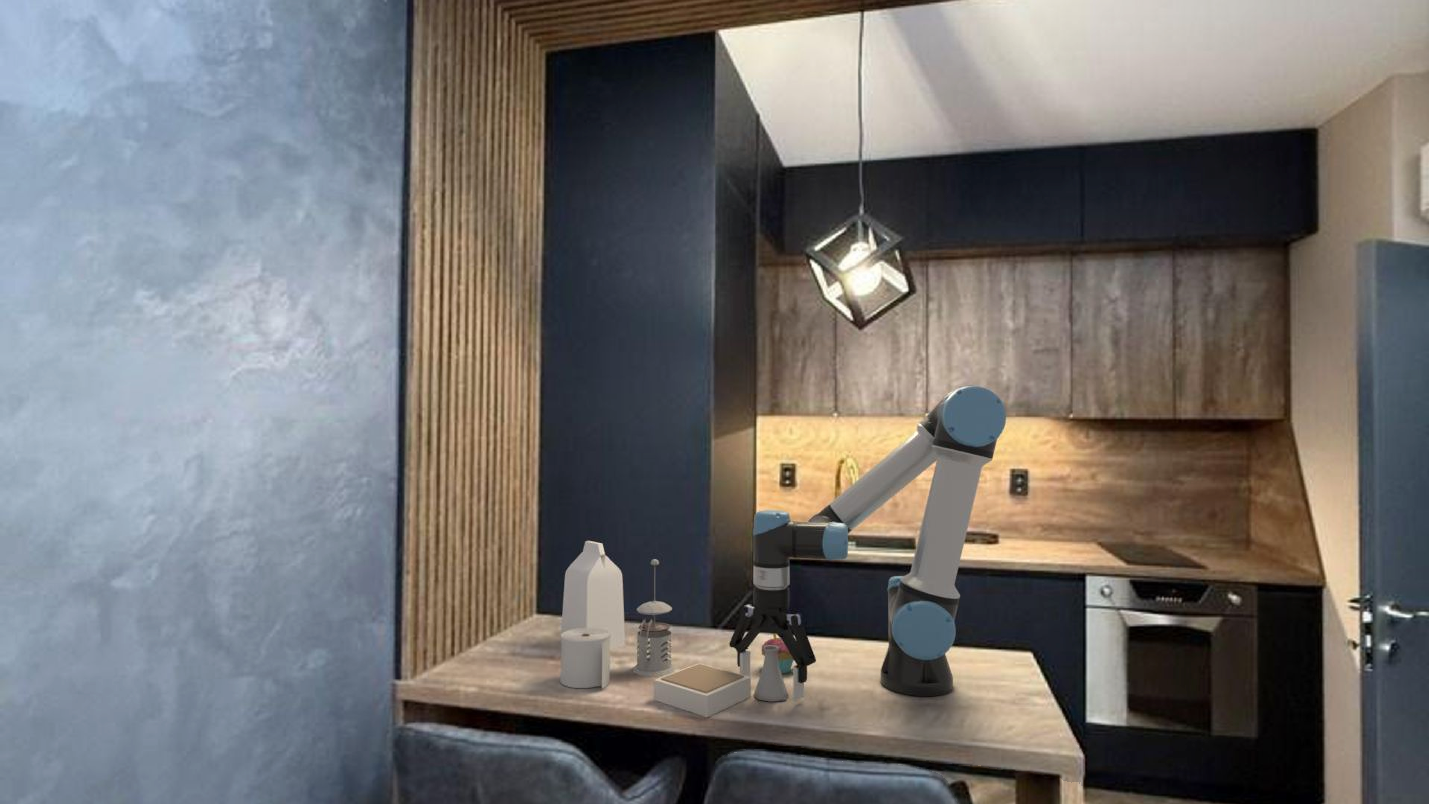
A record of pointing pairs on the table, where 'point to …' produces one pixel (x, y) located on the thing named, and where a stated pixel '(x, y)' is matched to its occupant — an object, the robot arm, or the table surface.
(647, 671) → the french press
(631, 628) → the table surface
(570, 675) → the toilet tissue
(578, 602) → the milk
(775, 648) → the flask
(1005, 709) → the table surface
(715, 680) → the pedestal
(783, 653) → the cupcake
